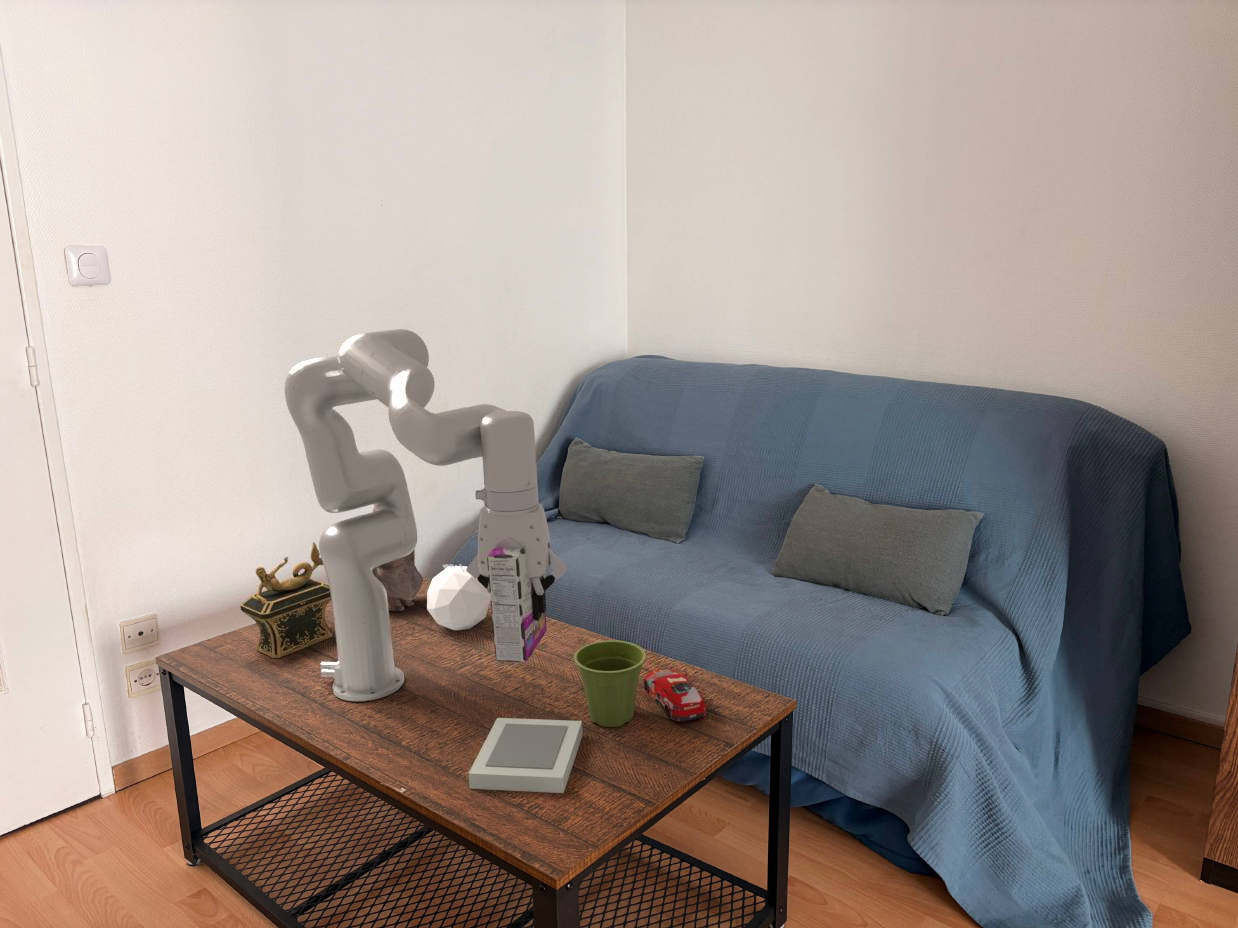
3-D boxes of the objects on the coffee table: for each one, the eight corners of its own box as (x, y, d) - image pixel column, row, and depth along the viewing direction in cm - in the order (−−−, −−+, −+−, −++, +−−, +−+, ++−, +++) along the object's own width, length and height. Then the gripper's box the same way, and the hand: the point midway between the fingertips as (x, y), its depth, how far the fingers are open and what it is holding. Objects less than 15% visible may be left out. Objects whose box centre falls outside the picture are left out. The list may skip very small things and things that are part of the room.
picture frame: (469, 788, 134) (468, 771, 133) (498, 731, 149) (497, 716, 148) (563, 792, 132) (562, 776, 131) (582, 734, 147) (581, 719, 146)
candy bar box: (516, 630, 142) (510, 529, 138) (547, 631, 141) (542, 530, 137) (492, 662, 131) (485, 553, 127) (526, 664, 130) (519, 555, 126)
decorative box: (270, 664, 176) (257, 568, 172) (244, 651, 183) (231, 558, 178) (358, 629, 191) (348, 540, 187) (331, 618, 197) (321, 532, 193)
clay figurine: (403, 594, 210) (393, 489, 204) (436, 601, 205) (426, 494, 199) (361, 614, 199) (349, 504, 193) (395, 622, 194) (383, 510, 188)
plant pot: (592, 742, 145) (589, 677, 142) (566, 709, 155) (563, 648, 153) (659, 725, 149) (658, 661, 146) (630, 694, 160) (627, 634, 157)
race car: (639, 685, 163) (638, 660, 162) (674, 679, 165) (673, 654, 164) (673, 729, 148) (672, 701, 147) (710, 721, 150) (710, 693, 149)
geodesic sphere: (400, 601, 191) (422, 558, 183) (449, 581, 201) (472, 540, 194) (441, 652, 186) (465, 611, 178) (489, 629, 196) (514, 589, 189)
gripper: (446, 505, 128) (455, 625, 132) (565, 506, 126) (571, 628, 130) (462, 491, 135) (470, 605, 139) (575, 491, 133) (580, 607, 137)
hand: (519, 615), depth 135 cm, fingers closed on candy bar box, 5 cm apart
